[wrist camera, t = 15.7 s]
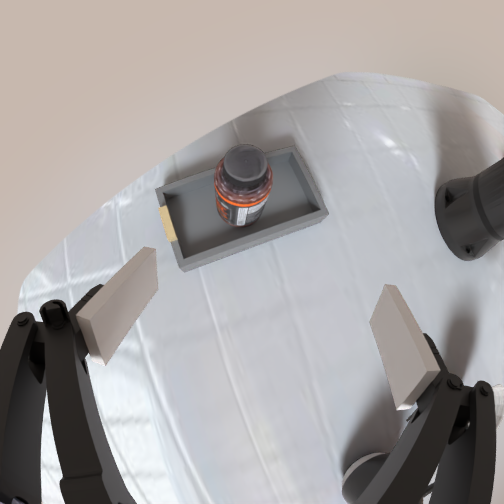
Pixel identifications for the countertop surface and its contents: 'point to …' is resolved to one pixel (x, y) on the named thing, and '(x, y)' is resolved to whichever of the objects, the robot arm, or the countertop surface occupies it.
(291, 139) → the countertop surface
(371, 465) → the pump dispenser
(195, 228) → the trough
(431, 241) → the countertop surface
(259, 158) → the supplement bottle
